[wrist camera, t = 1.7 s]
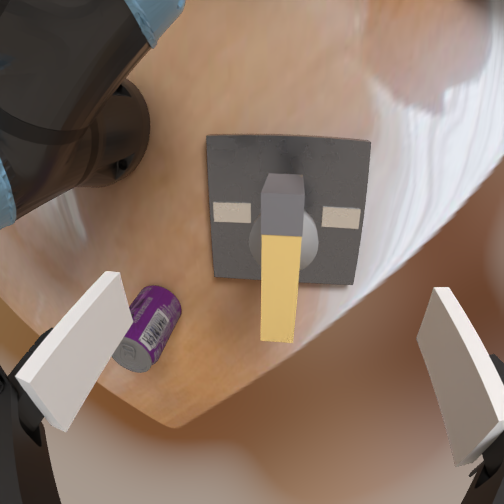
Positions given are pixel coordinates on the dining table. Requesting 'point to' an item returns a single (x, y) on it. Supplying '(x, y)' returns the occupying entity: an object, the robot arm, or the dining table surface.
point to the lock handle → (282, 252)
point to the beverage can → (148, 328)
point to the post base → (316, 202)
